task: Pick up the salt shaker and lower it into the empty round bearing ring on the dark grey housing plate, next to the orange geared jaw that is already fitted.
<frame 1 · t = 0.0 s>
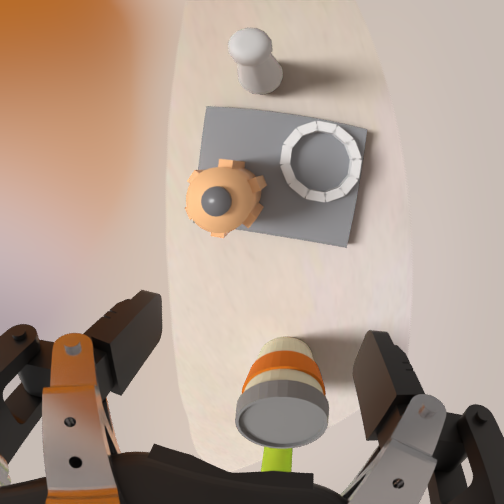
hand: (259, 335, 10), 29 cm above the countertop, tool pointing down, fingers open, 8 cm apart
soap dispenser: (278, 433, 52), on the countertop
reusable coffee cup: (285, 357, 45), on the countertop
salt shaker: (262, 80, 33), on the countertop
housing: (278, 173, 36), on the countertop
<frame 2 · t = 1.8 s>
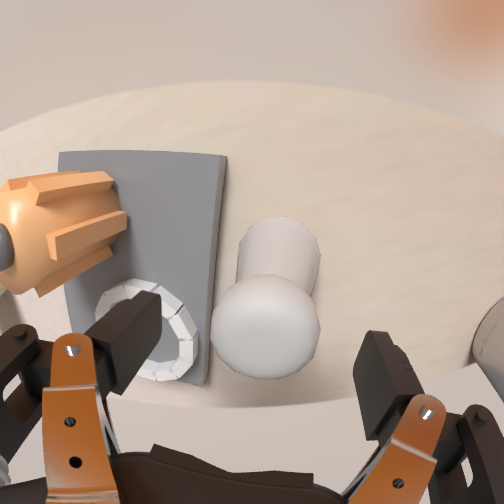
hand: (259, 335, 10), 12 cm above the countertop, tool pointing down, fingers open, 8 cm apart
salt shaker: (280, 247, 22), on the countertop
housing: (132, 266, 24), on the countertop
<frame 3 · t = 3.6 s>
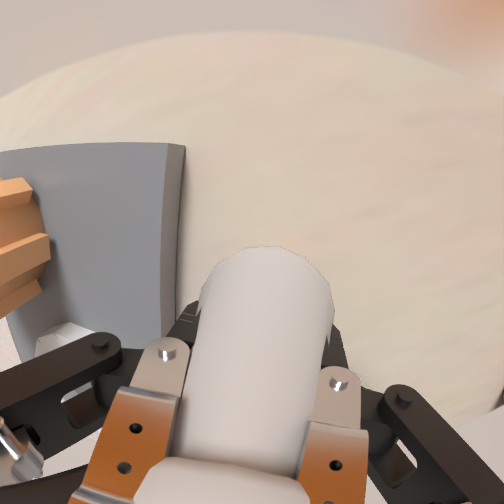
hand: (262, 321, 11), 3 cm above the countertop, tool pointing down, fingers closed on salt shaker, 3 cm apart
salt shaker: (270, 287, 14), on the countertop, touching gripper
housing: (73, 302, 16), on the countertop
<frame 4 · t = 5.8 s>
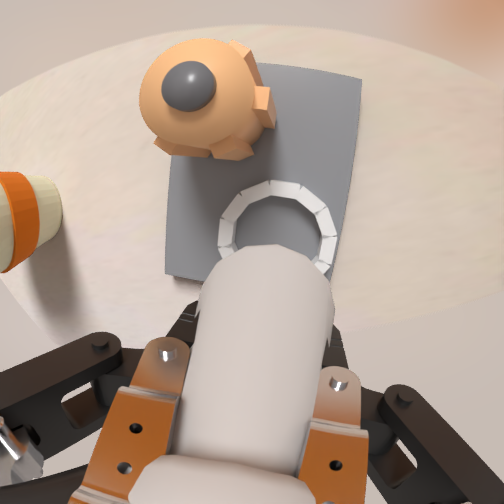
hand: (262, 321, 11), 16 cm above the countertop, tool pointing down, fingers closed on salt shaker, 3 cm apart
reusable coffee cup: (43, 207, 30), on the countertop
salt shaker: (270, 286, 14), point 13 cm above the countertop, touching gripper
housing: (259, 176, 25), on the countertop
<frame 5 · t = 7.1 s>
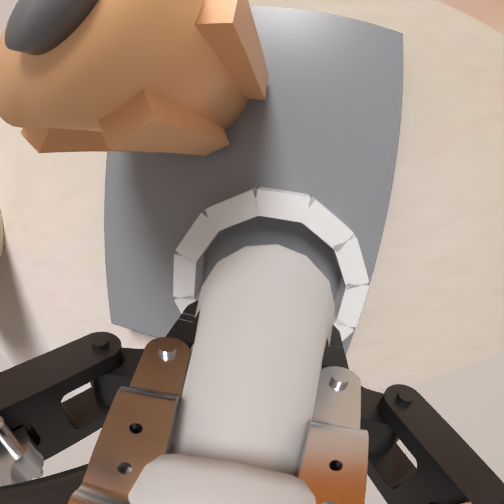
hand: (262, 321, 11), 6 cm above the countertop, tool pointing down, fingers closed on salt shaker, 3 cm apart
salt shaker: (270, 286, 14), point 3 cm above the countertop, touching gripper
housing: (241, 180, 16), on the countertop
when the fingers open (6 cm above the countertop, at t = 7.9 s): salt shaker stays where it is, resting on housing.
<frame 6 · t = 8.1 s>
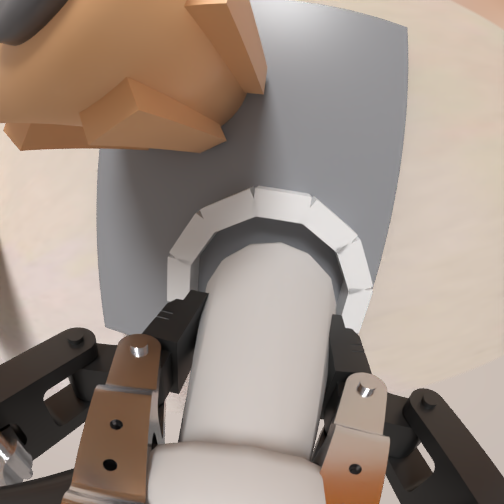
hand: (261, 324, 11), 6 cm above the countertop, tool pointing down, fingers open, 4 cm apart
salt shaker: (273, 283, 15), point 2 cm above the countertop, touching housing
housing: (239, 179, 15), on the countertop
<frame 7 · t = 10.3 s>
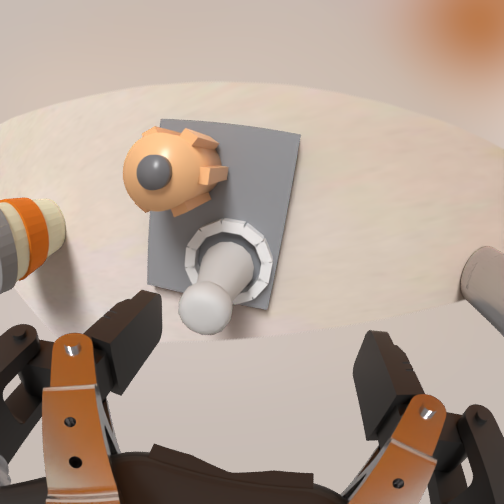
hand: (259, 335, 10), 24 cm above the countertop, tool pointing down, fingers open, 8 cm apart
reusable coffee cup: (49, 225, 37), on the countertop
salt shaker: (231, 259, 33), point 2 cm above the countertop, touching housing
housing: (217, 212, 33), on the countertop
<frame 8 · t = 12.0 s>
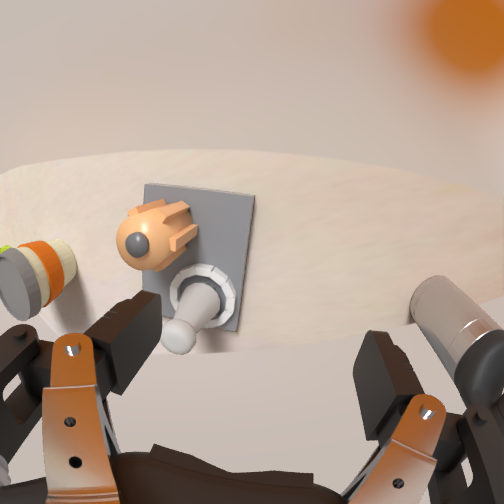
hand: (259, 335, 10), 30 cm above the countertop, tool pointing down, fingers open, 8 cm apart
soap dispenser: (9, 255, 50), on the countertop
reusable coffee cup: (62, 260, 47), on the countertop
salt shaker: (205, 294, 42), point 2 cm above the countertop, touching housing
housing: (194, 256, 42), on the countertop
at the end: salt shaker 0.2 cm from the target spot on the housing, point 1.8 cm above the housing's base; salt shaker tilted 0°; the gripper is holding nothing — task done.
